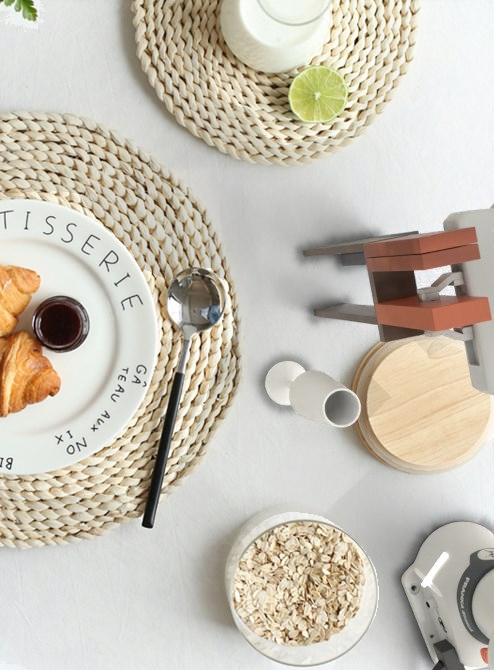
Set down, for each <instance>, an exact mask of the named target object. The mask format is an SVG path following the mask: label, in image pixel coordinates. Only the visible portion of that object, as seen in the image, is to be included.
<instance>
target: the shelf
mask: <svg viewBox="0 0 494 670" xmlns="http://www.w3.org/2000/svg"><path fill="white" fill-rule="evenodd" d="M477 242H478V240H477V235H476V229H475V227H468V228H460V229H453V230H445V231H444V230H438V231H431V232H430V231H429V232H422V233H419V234H414V235H402V236H397V237H391V238H386V239H381V240H376V241H371V242H366V243H363V249H364V254H365V260H366V265H365V266H366V270H367V276H368V280H369V282H368V283H369V288H370V291H371V297H372V302H373V306H374V309H375V304H377V303H382V302H387V301H392V300H397V299H402V298H407V297H412V296H417V289H418V285H417V284H418V283H417V280H416V274H415V272H416V271H427V270H433V269H437V268H438V269H439V268H443V267H448V266H450V265H453V264H458V263H463V262H468V261H473V260H478V259H481V257H480V252H479V246H478V244H472V243H477ZM375 314H376V309H375ZM376 319H377V314H376ZM376 326H377V329H378V335H379V340H380V342H381V343H389V342H395V341H401V340H404V339H405V340H406V339H409V338H414V337H418V336H425V334H424V330H420V329H413V328H406V327H399V326H391V325H384V324H378V320H377V325H376Z"/></svg>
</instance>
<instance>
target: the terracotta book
mask: <svg viewBox="0 0 494 670" xmlns="http://www.w3.org/2000/svg"><path fill="white" fill-rule="evenodd" d="M439 295H440V300H435V301H430V302H419V300H418V295H417V296H412V297H407V298H402V299H397V300H392V301H387V302H382V303H377V304H375V309H376V314H377V320H378V324H384V325H391V326H399V327H406V328H413V329H420V330H427V331H434V332H437V331H442V330H447V329H449V330H453V328H457V327H461V326H466V325H471V324H476V323H481V322H486V321H491V320H492V317H491V311H490V306H489V300H488V297H475V296H456V295H451V294H450V295H447V294H439Z"/></svg>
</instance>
